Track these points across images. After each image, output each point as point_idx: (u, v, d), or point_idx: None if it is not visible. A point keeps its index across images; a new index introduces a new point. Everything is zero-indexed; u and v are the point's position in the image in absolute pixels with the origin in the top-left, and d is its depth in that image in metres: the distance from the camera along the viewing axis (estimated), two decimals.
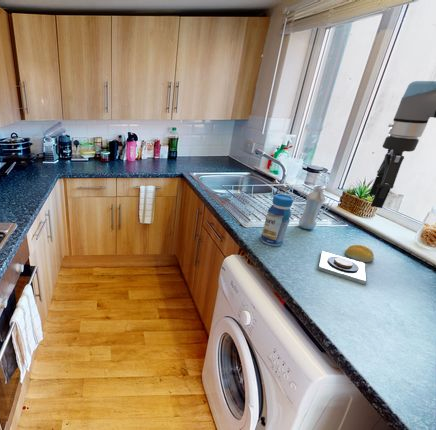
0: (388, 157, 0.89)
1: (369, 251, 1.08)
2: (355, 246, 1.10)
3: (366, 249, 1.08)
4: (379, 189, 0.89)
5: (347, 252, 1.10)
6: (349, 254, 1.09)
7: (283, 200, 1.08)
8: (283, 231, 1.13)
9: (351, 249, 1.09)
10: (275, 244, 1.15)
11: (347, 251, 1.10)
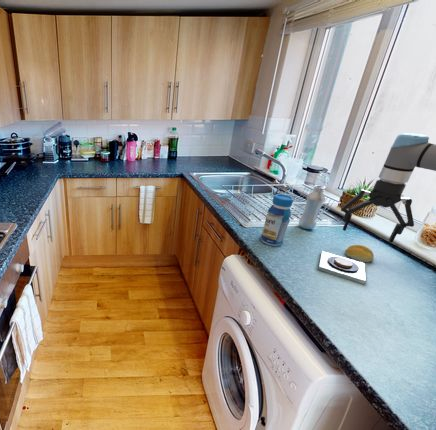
0: None
1: (369, 251, 1.08)
2: (355, 246, 1.10)
3: (366, 249, 1.08)
4: None
5: (347, 252, 1.10)
6: (349, 254, 1.09)
7: (283, 200, 1.08)
8: (283, 231, 1.13)
9: (351, 249, 1.09)
10: (275, 244, 1.15)
11: (347, 251, 1.10)
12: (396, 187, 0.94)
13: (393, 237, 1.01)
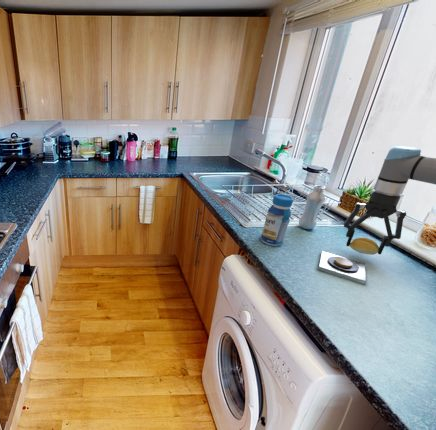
0: None
1: (374, 244, 1.06)
2: (360, 239, 1.08)
3: (371, 242, 1.06)
4: None
5: (352, 245, 1.08)
6: (354, 247, 1.07)
7: (283, 200, 1.08)
8: (283, 231, 1.13)
9: (356, 242, 1.07)
10: (275, 244, 1.15)
11: (352, 244, 1.08)
12: (391, 198, 0.96)
13: (381, 249, 1.04)
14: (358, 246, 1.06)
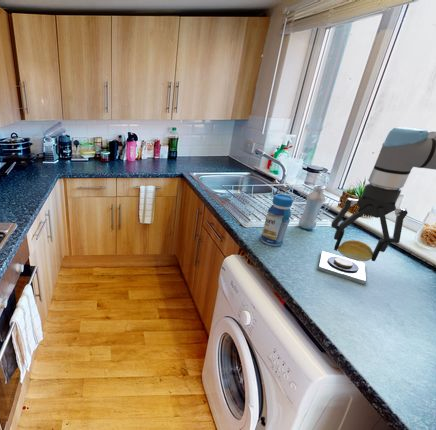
0: None
1: (367, 248, 0.87)
2: (350, 242, 0.90)
3: (364, 245, 0.88)
4: None
5: (340, 249, 0.89)
6: (342, 252, 0.88)
7: (283, 200, 1.08)
8: (283, 231, 1.13)
9: (345, 245, 0.88)
10: (275, 244, 1.15)
11: (340, 248, 0.89)
12: (390, 193, 0.77)
13: (375, 255, 0.85)
14: (348, 251, 0.87)
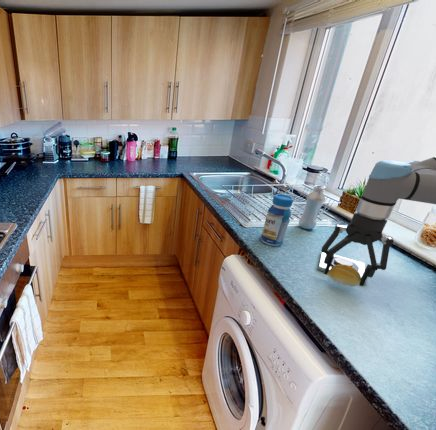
0: None
1: (356, 273, 0.90)
2: (339, 266, 0.93)
3: (352, 270, 0.90)
4: None
5: (330, 273, 0.92)
6: (332, 276, 0.91)
7: (283, 200, 1.08)
8: (283, 231, 1.13)
9: (334, 270, 0.91)
10: (275, 244, 1.15)
11: (330, 272, 0.92)
12: (376, 223, 0.80)
13: (363, 280, 0.88)
14: (337, 276, 0.90)
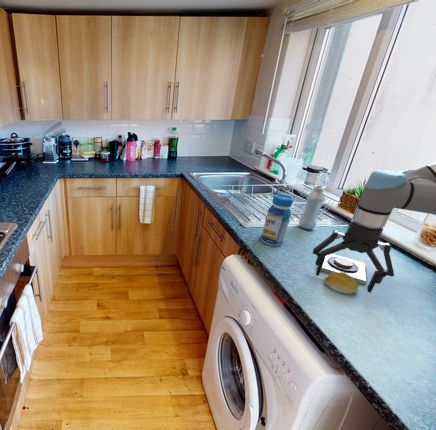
0: None
1: (352, 280, 0.91)
2: (336, 274, 0.94)
3: (349, 278, 0.92)
4: None
5: (327, 281, 0.93)
6: (329, 284, 0.92)
7: (283, 200, 1.08)
8: (283, 231, 1.13)
9: (331, 278, 0.92)
10: (275, 244, 1.15)
11: (327, 280, 0.93)
12: (372, 232, 0.81)
13: (371, 287, 0.87)
14: (334, 283, 0.91)
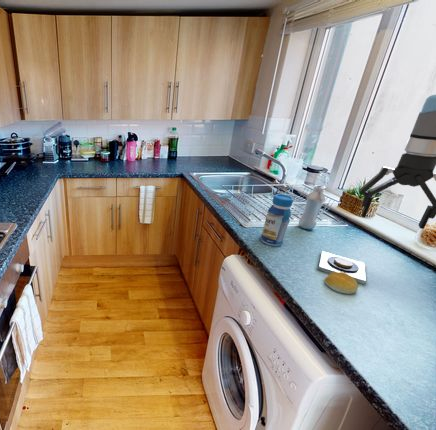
0: None
1: (352, 280, 0.91)
2: (336, 274, 0.94)
3: (349, 278, 0.92)
4: None
5: (327, 281, 0.93)
6: (329, 284, 0.92)
7: (283, 200, 1.08)
8: (283, 231, 1.13)
9: (331, 278, 0.92)
10: (275, 244, 1.15)
11: (327, 280, 0.93)
12: (429, 160, 0.78)
13: (425, 222, 0.84)
14: (334, 283, 0.91)
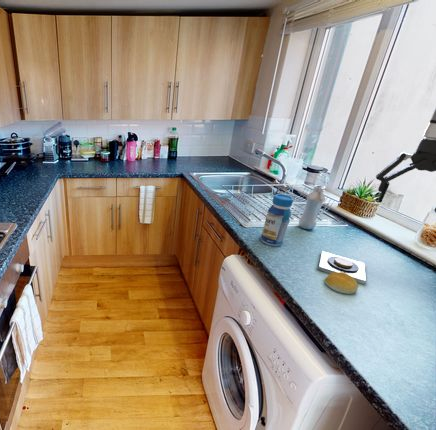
0: None
1: (352, 280, 0.91)
2: (336, 274, 0.94)
3: (349, 278, 0.92)
4: None
5: (327, 281, 0.93)
6: (329, 284, 0.92)
7: (283, 200, 1.08)
8: (283, 231, 1.13)
9: (331, 278, 0.92)
10: (275, 244, 1.15)
11: (327, 280, 0.93)
12: None
13: None
14: (334, 283, 0.91)
